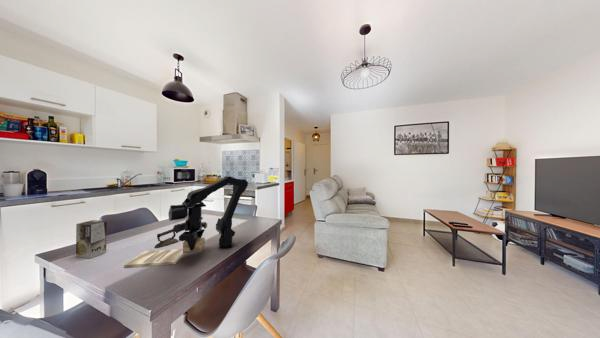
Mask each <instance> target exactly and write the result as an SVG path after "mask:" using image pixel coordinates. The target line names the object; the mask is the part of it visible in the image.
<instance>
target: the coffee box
mask: <svg viewBox="0 0 600 338" xmlns="http://www.w3.org/2000/svg"><path fill="white" fill-rule="evenodd" d="M107 224H108V221H107V220H97V219H95V220H94V219H93V220H88V221H83V222H80V223H76V224H75V227H76V230H75V231H76V232H75V238H76V239H75V242H76V244H75V257H76V258H83V259H92V258H95V257H98V256H101V255H103V254H106V253H107V237H108V236H107V234H108V233H107V231H108V229H107V226H108V225H107Z"/></svg>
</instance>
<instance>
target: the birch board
mask: <svg viewBox="0 0 600 338" xmlns="http://www.w3.org/2000/svg"><path fill="white" fill-rule="evenodd" d="M185 255H186V253H183V248H176V249H160V250H144V251H142V252H141V253H139V254H138V255H137V256H136V257H134V258H132V259H131V260H130V261H128V262H127V263H125V264H124V265H123V269H126V268H139V267H140V268H141V267H142V268H144V267H154V266H167V265H169V266H170V265H176V264H177V262H179V261H180V260H181V259H182V258H183V257H184V256H185Z"/></svg>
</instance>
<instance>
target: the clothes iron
mask: <svg viewBox="0 0 600 338" xmlns="http://www.w3.org/2000/svg"><path fill="white" fill-rule="evenodd" d="M171 233H173V235H172V236H171V237H168V238H166V239H164V240H161V239H160V238H161V237H164V236H165V235H169V234H171ZM176 234H177V233H176V232H174V231H173V228H171V229H169V230H167V231H166V230H165V231H163V232H161V233H157V234H156V238H157V241H158V243H157V244H156V245H154V249H159V248H160V249H161V248H163V247H167V246H170V245H171V246H172V245H174V244H177V243H179V242H180V241H179V239H177V238H175V237H176Z"/></svg>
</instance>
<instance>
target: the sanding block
mask: <svg viewBox="0 0 600 338" xmlns="http://www.w3.org/2000/svg"><path fill="white" fill-rule="evenodd" d="M205 240H206V239H205V237H201V238H198V239H197V242H196V244H195V247H194V249H193V250H192V251H191V250H190V248H189V245H188V243H187V241H182V249H183V253H185V254H189V253H201V252H202V251H203V249H205V247H206V246H205V244H206V243H205Z"/></svg>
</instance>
